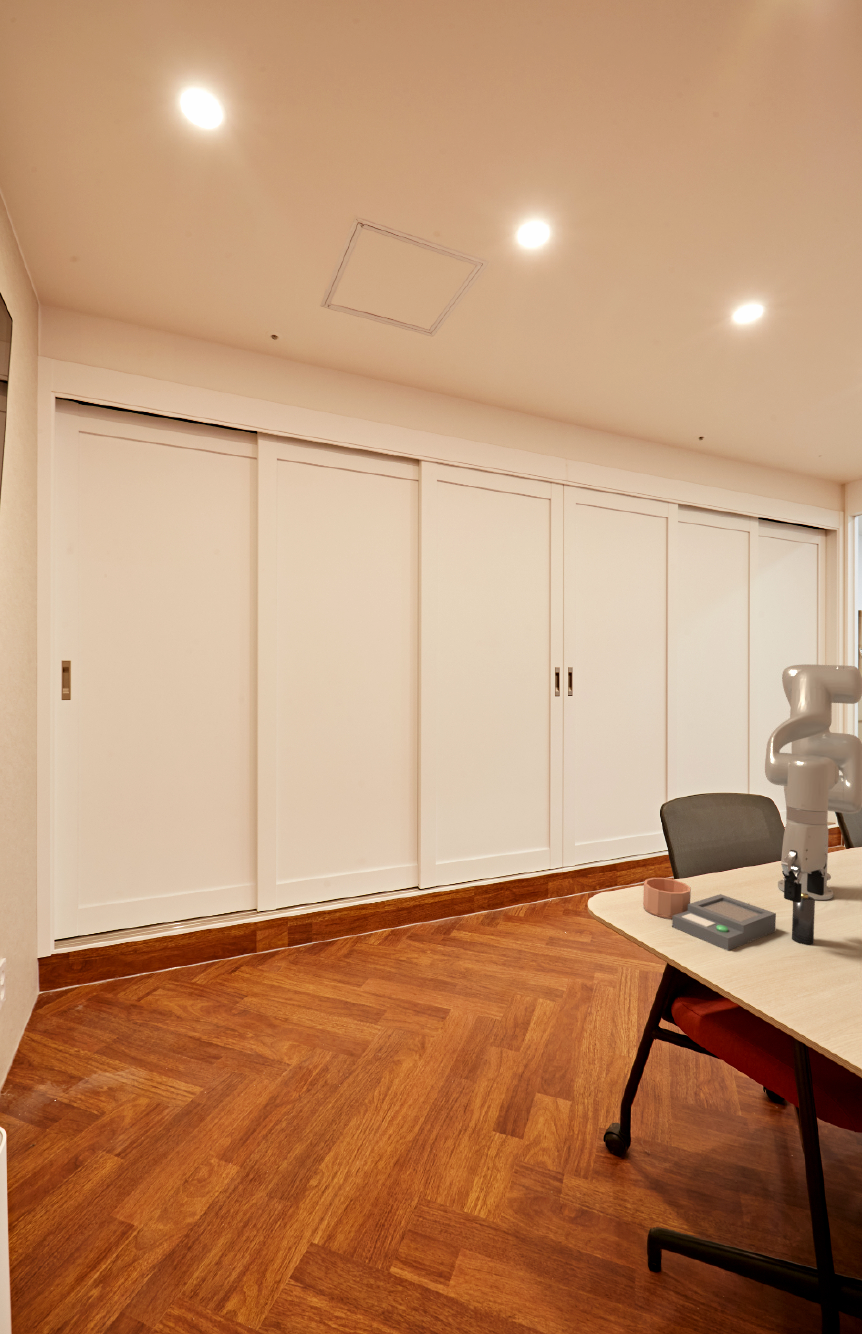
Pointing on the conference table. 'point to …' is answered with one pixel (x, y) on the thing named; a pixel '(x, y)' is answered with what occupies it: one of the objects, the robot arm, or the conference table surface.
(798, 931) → the battery
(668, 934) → the conference table surface
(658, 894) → the cup
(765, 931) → the grey button console
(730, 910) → the pad
